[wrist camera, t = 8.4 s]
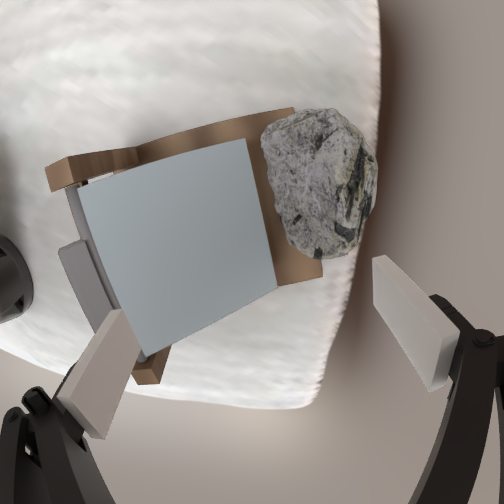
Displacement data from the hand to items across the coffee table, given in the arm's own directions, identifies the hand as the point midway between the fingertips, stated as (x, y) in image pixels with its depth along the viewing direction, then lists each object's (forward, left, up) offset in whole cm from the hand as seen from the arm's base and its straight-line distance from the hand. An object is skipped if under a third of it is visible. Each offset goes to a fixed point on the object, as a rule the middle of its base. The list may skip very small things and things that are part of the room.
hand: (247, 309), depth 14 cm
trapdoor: (-7, 0, -12) cm, 14 cm away
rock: (+5, +2, -15) cm, 16 cm away
